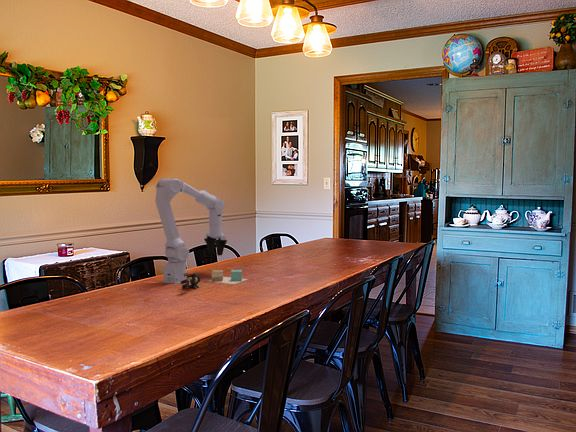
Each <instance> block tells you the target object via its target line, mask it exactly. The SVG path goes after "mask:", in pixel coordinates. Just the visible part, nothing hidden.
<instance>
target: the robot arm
mask: <svg viewBox="0 0 576 432" xmlns="http://www.w3.org/2000/svg"><path fill="white" fill-rule="evenodd" d="M155 189H156V192H155V200H154V202H155V205H156V208H157V212H158V215H159V219H160V222H161V225H162V228H163V232H164V235H165V238H166V242H165V244H164V247H165V250H164V251H165V257H166V258H167V261H168V262H167V263H165V264H164V266H163V269H162V270H163V272H162V273H163V281H162V282H161V283H162V284H169V283H170V284H181V281H183V280H186V279H187V276H184V274H185V273H187V260H188V259H189V257H190V250H189V248H188V247H187V246H186V243H185V241H184V240H183V239H182V238H181V236H180V233H179V229H178V227H177V223H176V219H175V216H174V213H173V210H172V206H171V202H172V200H173V199H174V198H175V196H177V195H178V194H179V193H180V192H182V193H183V194H186V195H189V196H190V197H192V198H195V202H196V203H198V204H200V205H202V206H204V207H206V208H207V210H208V218H209V219H208V224H209V225H208V232H205V238H204V242H205V243H206V244H205V245H206V248H207V251H208V254H209V255H210V254H215V253H214V252H215V247H216V255H217V256H223V254H224V253H223V252H224V248H225V246H226V244H227V243H228V240H227V239H226V234H225V233H223V222H222V221H223V211H224V209H225V205H226V204H225V202H224V201H223V199H222V198H219V197H216V196H215V194H211V193H209V192H208V191H207V190H206V189H201V190H198V189H196V188H194V187H193V186H191V185H189V184H188V183H186V182H184V181H183V180H180V179H179V178H164V177H162V178H159V180H158V182H157V183H156V185H155ZM183 273H184V274H183Z"/></svg>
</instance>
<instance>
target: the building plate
mask: <svg viewBox="0 0 576 432" xmlns="http://www.w3.org/2000/svg"><path fill="white" fill-rule="evenodd" d="M244 281H248V278H242V281H231V276H223V281H212V279H209V280H208V282H210V283H212V282H213V283H219V284H220V283H221V284H230V285H236V284H239V283H241V282H244Z"/></svg>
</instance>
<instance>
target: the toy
mask: <svg viewBox="0 0 576 432" xmlns="http://www.w3.org/2000/svg"><path fill="white" fill-rule="evenodd" d="M183 274H184V273H183ZM184 276H186V280H183V281H181V283H180V284H181V290H186V289H189V288H192V289H193V290H195V291H196V290H198V289H200V288H201V287H202V286H201V285H198V284H199V283H200V282H201V277H200V275H198V272H194V273H191V274H189V273H187V272H186V273H185V274H184Z"/></svg>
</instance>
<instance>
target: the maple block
mask: <svg viewBox="0 0 576 432" xmlns="http://www.w3.org/2000/svg"><path fill="white" fill-rule="evenodd" d="M223 277H224V270H223V269H212V270H211V280H212V281H223Z"/></svg>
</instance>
